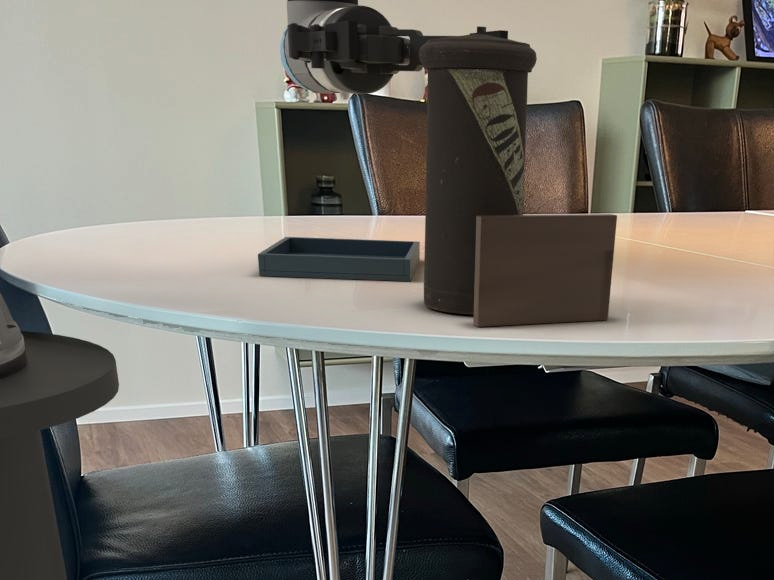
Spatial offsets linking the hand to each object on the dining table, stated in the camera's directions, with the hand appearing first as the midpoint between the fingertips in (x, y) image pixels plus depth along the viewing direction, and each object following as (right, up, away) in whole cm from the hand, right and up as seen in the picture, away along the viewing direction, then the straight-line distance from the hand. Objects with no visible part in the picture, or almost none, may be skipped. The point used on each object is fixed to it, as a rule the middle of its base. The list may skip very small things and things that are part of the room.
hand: (431, 44), depth 83 cm
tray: (-10, -11, +20) cm, 25 cm away
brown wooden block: (+6, -21, +2) cm, 22 cm away
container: (+3, -22, +2) cm, 22 cm away
